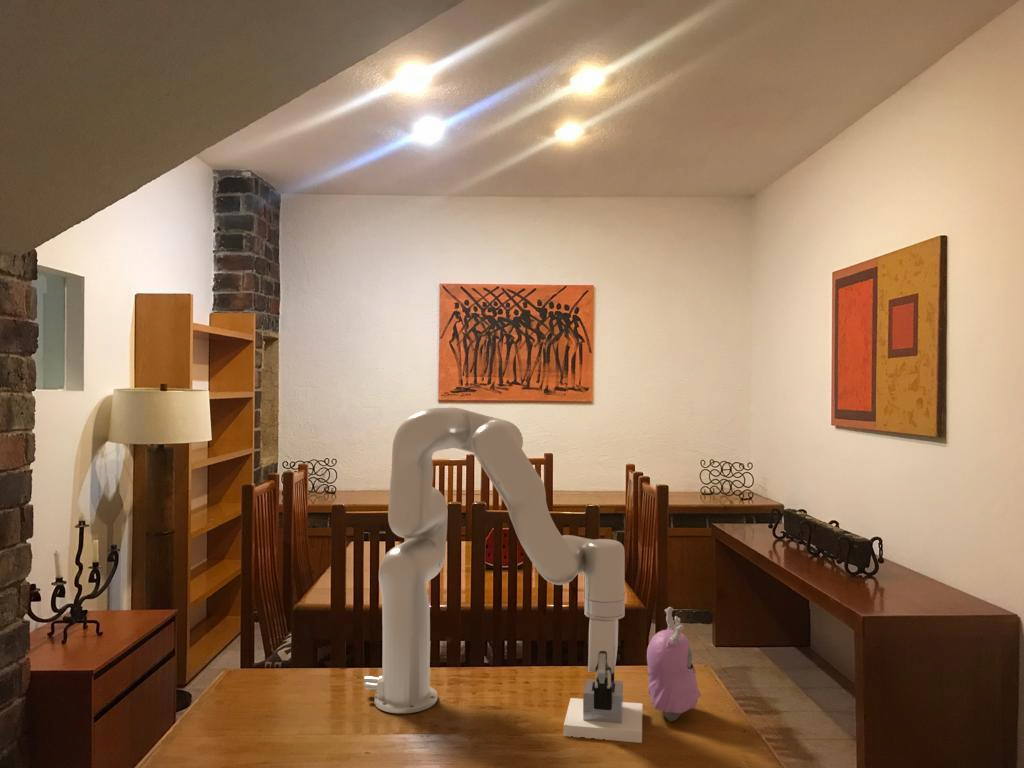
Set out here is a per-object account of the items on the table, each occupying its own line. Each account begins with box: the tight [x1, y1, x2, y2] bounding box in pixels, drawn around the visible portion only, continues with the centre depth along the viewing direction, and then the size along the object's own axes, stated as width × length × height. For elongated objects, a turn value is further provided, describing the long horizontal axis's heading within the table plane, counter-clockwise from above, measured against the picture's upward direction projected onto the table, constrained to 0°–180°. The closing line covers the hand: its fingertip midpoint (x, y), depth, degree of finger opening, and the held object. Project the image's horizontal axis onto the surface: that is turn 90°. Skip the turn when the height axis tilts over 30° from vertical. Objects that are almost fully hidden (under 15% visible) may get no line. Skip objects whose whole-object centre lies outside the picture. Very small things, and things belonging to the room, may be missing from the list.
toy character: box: [646, 606, 702, 722], centre depth 142 cm, size 12×10×20 cm
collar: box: [582, 678, 624, 724], centre depth 138 cm, size 7×7×5 cm
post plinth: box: [563, 675, 643, 744], centre depth 137 cm, size 14×12×9 cm
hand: (604, 698), depth 137 cm, fingers open, 9 cm apart
